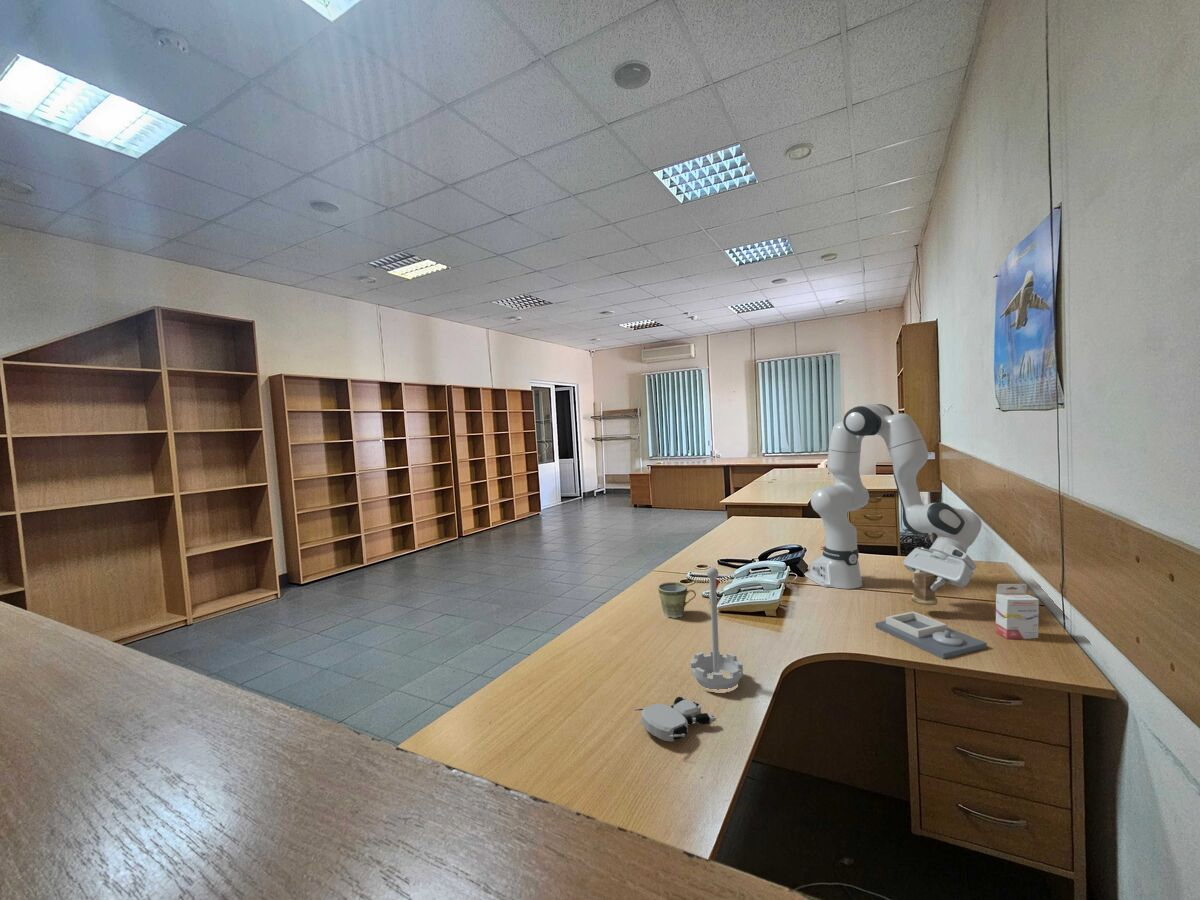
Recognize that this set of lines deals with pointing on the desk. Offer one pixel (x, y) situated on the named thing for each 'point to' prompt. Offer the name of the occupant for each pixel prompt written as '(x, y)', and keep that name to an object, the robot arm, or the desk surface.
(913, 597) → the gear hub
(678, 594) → the ceramic cup
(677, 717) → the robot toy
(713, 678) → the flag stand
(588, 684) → the desk surface
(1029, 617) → the ink cartridge box
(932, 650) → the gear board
